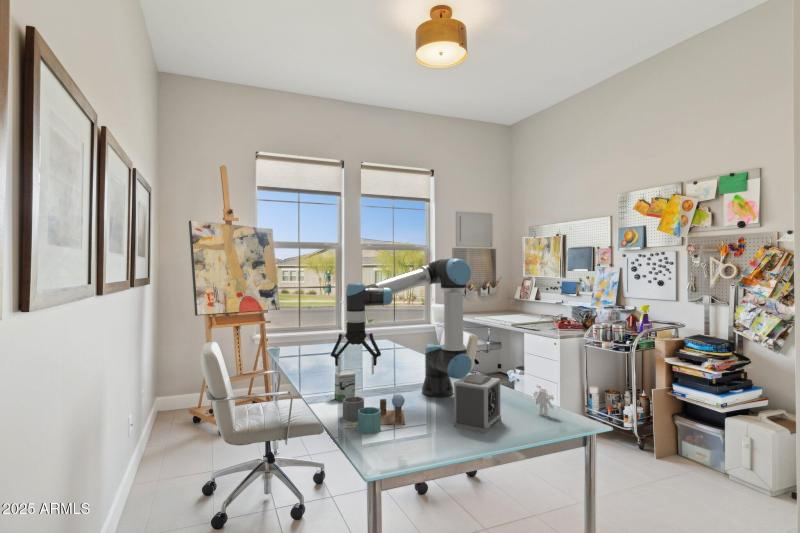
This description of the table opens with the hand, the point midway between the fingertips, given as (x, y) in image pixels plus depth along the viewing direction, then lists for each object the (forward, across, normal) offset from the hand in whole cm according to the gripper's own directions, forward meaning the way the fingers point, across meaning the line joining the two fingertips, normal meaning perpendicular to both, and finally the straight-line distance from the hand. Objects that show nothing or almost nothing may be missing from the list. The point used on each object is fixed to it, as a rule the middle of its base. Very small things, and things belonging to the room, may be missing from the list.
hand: (356, 373), depth 173 cm
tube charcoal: (+18, +1, 0) cm, 18 cm away
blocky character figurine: (+18, -77, -1) cm, 79 cm away
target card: (+18, 0, +10) cm, 20 cm away
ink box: (+18, +7, -25) cm, 32 cm away
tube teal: (+18, -6, +14) cm, 23 cm away
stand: (+18, -14, +1) cm, 22 cm away
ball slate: (+9, -17, +6) cm, 20 cm away
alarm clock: (+18, -48, +7) cm, 52 cm away
